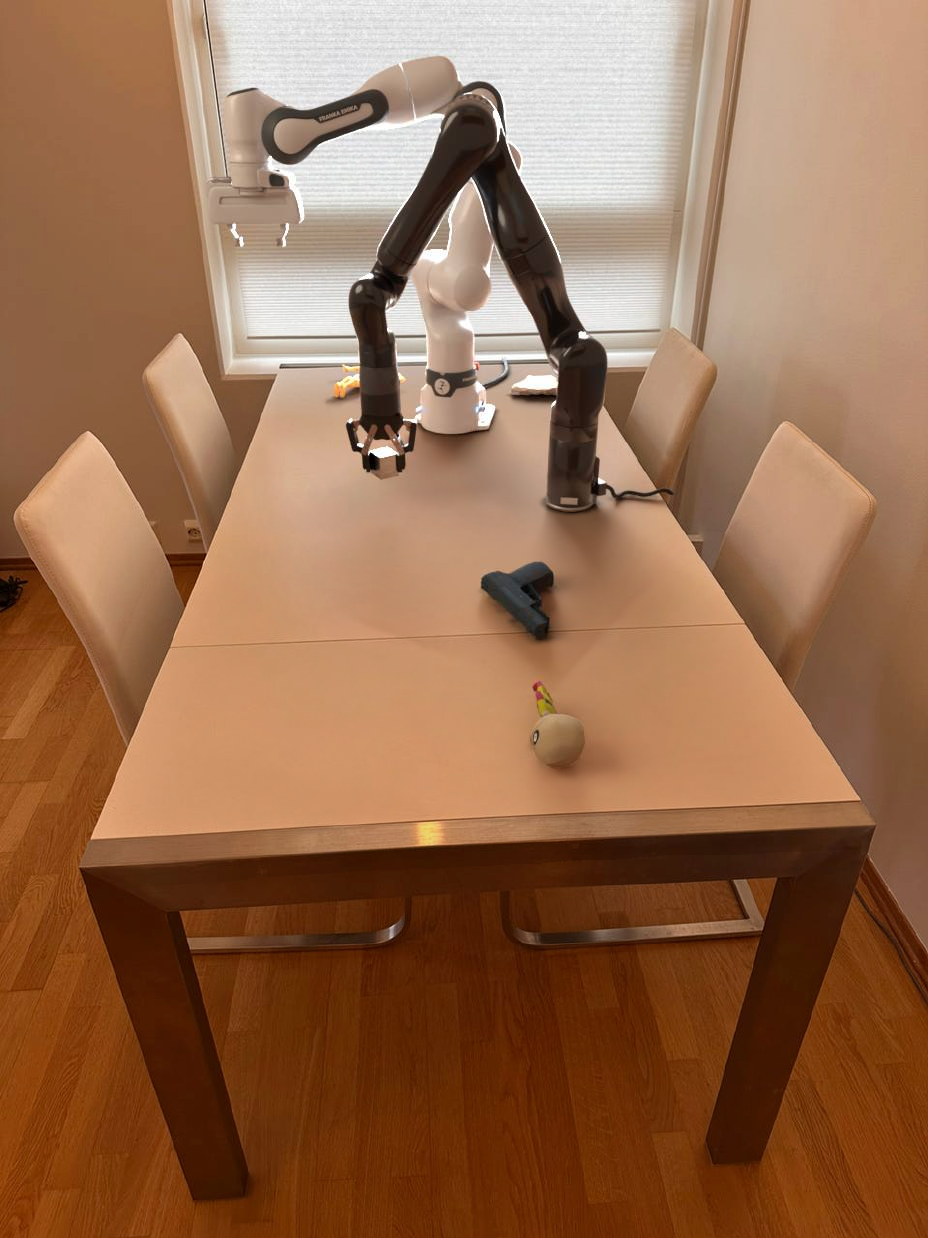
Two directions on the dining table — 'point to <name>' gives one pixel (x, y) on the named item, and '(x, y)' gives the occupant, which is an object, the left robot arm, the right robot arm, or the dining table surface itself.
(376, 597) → the dining table surface
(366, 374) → the right robot arm
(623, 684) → the dining table surface
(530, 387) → the stone
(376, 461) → the block
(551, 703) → the toy
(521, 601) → the handgun
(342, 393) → the human figure
